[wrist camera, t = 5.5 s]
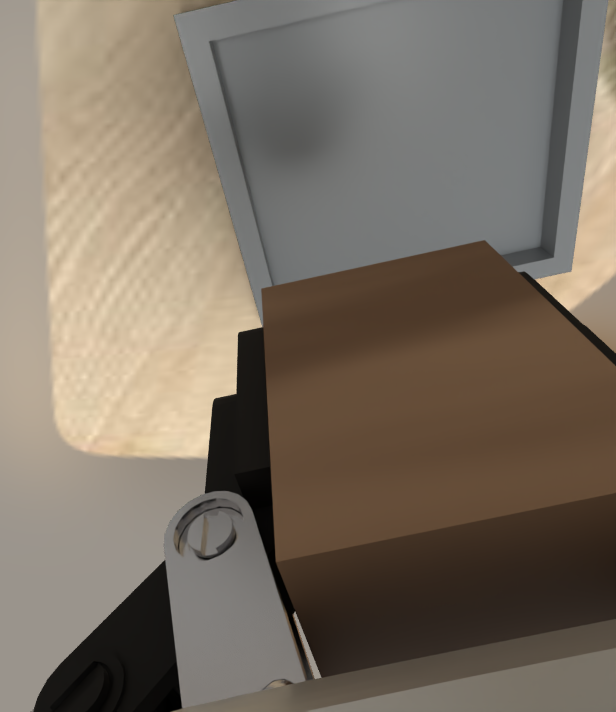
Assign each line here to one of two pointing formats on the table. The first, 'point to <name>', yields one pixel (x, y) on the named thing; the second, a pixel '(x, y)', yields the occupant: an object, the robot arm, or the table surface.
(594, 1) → the tray
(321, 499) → the walnut block
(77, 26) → the table surface
